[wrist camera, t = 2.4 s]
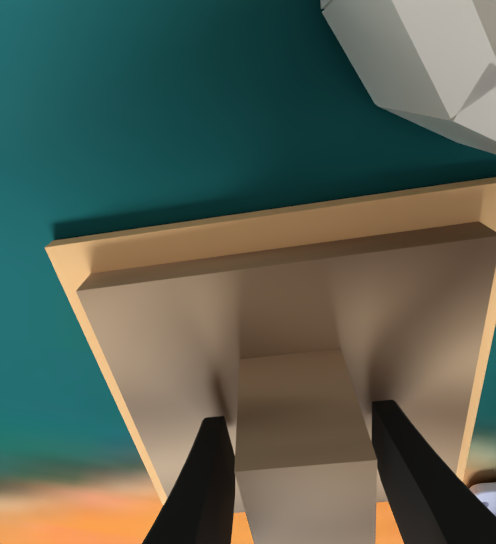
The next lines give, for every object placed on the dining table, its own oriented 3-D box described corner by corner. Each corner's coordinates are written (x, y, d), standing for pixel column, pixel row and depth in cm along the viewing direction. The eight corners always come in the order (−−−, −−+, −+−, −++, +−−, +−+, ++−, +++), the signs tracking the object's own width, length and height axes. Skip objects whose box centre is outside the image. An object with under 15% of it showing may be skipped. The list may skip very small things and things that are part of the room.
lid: (439, 471, 15) (508, 615, 11) (180, 492, 16) (155, 632, 12) (479, 221, 10) (636, 319, 6) (90, 273, 11) (-8, 389, 7)
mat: (456, 472, 16) (461, 484, 15) (166, 495, 17) (164, 507, 16) (513, 174, 10) (525, 179, 9) (53, 240, 11) (44, 247, 10)
